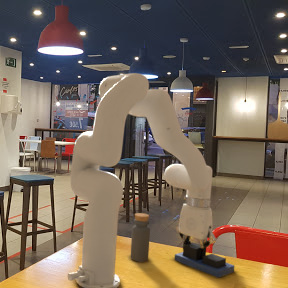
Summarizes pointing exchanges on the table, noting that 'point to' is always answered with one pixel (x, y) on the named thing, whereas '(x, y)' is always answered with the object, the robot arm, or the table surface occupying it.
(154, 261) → the table surface
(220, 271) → the frame
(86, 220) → the robot arm
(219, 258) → the pad
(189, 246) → the pad
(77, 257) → the table surface
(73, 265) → the table surface
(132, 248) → the bottle
